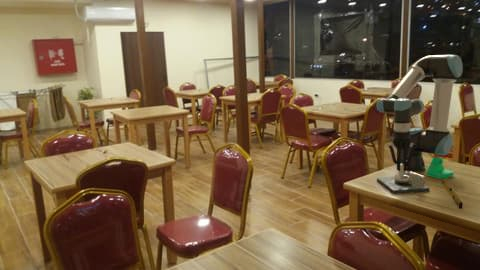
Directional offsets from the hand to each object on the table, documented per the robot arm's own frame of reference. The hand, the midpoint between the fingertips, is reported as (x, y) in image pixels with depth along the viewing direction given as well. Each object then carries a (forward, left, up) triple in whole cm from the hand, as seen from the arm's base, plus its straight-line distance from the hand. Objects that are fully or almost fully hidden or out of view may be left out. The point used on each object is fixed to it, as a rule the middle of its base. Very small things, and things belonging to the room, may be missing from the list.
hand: (401, 176), depth 195 cm
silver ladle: (-5, 0, -4) cm, 6 cm away
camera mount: (-29, -14, -7) cm, 33 cm away
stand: (-2, -3, -6) cm, 8 cm away
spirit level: (-19, +12, -7) cm, 24 cm away
